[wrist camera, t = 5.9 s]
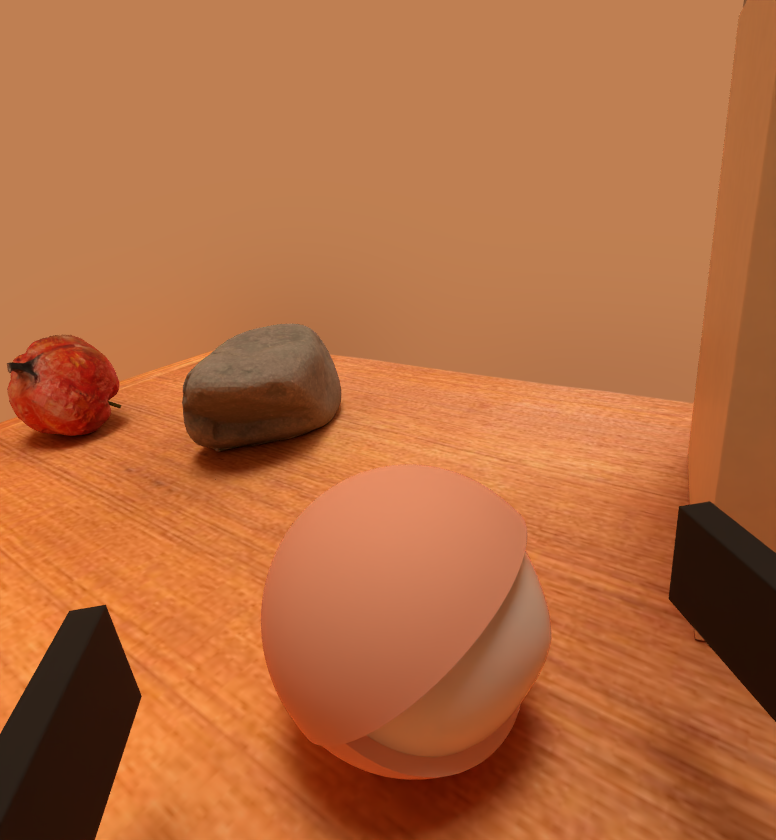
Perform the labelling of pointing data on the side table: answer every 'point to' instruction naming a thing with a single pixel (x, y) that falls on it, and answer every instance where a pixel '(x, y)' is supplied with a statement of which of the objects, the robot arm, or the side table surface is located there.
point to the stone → (261, 388)
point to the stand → (742, 300)
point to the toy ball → (405, 621)
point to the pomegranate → (62, 386)
